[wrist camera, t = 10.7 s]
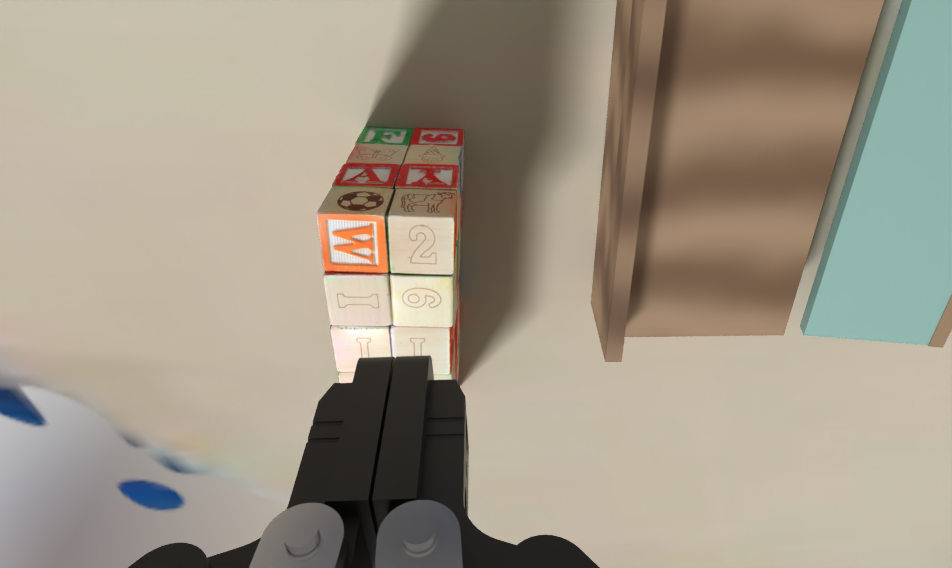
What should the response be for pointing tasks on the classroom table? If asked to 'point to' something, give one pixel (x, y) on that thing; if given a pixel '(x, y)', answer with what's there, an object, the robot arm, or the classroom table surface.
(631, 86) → the cart bed
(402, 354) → the stack of blocks
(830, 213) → the classroom table surface
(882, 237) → the tailgate
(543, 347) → the classroom table surface
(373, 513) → the robot arm
